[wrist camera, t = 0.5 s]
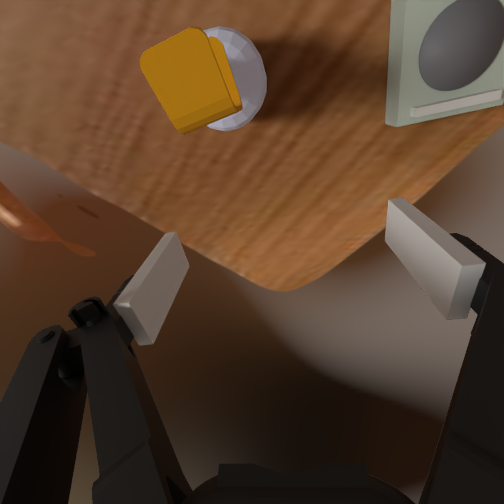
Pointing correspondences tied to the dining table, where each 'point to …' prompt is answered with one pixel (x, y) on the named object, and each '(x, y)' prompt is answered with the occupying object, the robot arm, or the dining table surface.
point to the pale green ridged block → (444, 59)
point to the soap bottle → (206, 78)
